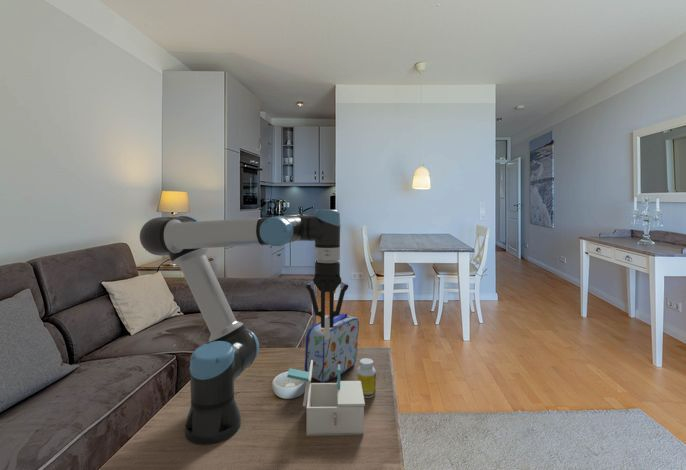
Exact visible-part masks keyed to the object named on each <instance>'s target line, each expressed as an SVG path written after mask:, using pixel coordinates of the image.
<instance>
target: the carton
mask: <svg viewBox="0 0 686 470" xmlns="http://www.w3.org/2000/svg"><path fill="white" fill-rule="evenodd" d="M364 417H365V406H338V398H337V382H324V383H323V382H311V383H310V387H309V392H308V396H307V401H306V436H307V437H308V436H310V437H311V436H363V435H364V434H365V433H364V430H365V429H364V428H365V425H364V423H365V422H364V420H365V419H364Z"/></svg>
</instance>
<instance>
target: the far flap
mask: <svg viewBox="0 0 686 470" xmlns="http://www.w3.org/2000/svg"><path fill="white" fill-rule="evenodd" d="M336 377H337V378H336V379H337V380H336V383H337V398H338V406H364V407H366V402H365V398H364V396H363V390H362V385H361V381H357V380H341V375H340V364H338V368H337V376H336Z"/></svg>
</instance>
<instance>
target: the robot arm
mask: <svg viewBox="0 0 686 470" xmlns="http://www.w3.org/2000/svg"><path fill="white" fill-rule="evenodd" d="M340 216H341V215H340V211H339V210H337V209H315V211H314V215H308V216H307V215H289V214H288V215H279V216H276V215H275V216H274V215H273V216H268V217H252V218H251V217H250V218H237V219H235V218H234V219H217V220H203V221H201V220H200V219H198V218H196V217H192V216H187V215H186V216H185V215H180V216H179V215H178V216H161V217H160V216H159V217H154V218H151V219H149V220H148V221H147V222H145V223H144V224H143V225H142V226H141V229H140V232H139V241H140V244H141V246H142V248H143V249H145V251H146V252H147V253H149V254H151V255H154V256H168V257H169V259H170V261H171V263H172V264H173V265H175V266H178V267H179V268H180V270H181V272H182V274H183V277H184V279H185V281H186V283H187V285H188V287H189V289H190V292H191V294H192V296H193V298H194V301H195V302H196V305H197V306H198V309H199V311H200V313H201V315H202V317H203V319H204V322H205V324H206V326H207V328H208V330H209V333H210V336H209V338H208V343H204V344H202V345H200V346H199V347H197V348H196V349H195V350H194V351H193V352H192V354H191V355H190V360H189V361H190V363H189V376H190V380H189V381H190V407H189V411H188V414H187V417H186V419H185V422H184V423H185V424H184V437H185V439H186V440H187V441H188V442H190V443H192V444H195V445H200V446H201V445H204V446H205V445H213V444H217V443H220V442H224V441H226V440H228V439H229V438H231V437H232V436H234V435H235V434H236V433H237V432H238V431H239V429H240V428H241V424H242V420H241V419H242V416H241V412H240V410H239V407H238V404H237V402H236V399H235V380H236V379H237V378H238V377H240V376H241V374H242V373H243V372H244V371H246V369H248V368H249V367H250V366H251V365H252V364H253V362H254V361H255V360H256V358H257V357H258V355H259V352H260V343H259V339H258V337H257V335H256V334H255V333H254V332H253V331H251V330H250V329H248V328H247V329H246V327H245V325H244V322H241V321H238V320H237V319H236V316H235V315H234V312H233V311H232V307H231V306H230V303H229V302H228V299H227V297H226V295H225V293H224V291H223V289H222V287H221V285H220V282H219V281H218V278H217V276H216V274H215V272H214V269H213V268H212V264H211V263H210V261H209V259H208V256H207V253H208V251H209V249H211V248H213V249H214V248H216V249H217V248H231V247H250V246H251V247H252V246H255V247H256V246H271V247H279V246H280V247H281V246H284V245H286V244H289V243H294V242H297V241H299V242H300V241H302V242H305V241H306V242H314V260H315V262H314V277H313V278H312V279H313V280H312V281H310V282H307V283H306V286H305V288H306V289H307V291H308V293H309V296H310V301H311V304H312V307H313V312H314V315H315V316H317V317H320V322H321V328H325V339H330V328H333V318H334V317H335V316H338V315H339V314H341V313H340V312H341V309H342V306H343V301H344V298H345V295H346V294H345V293H346V292H347V290H348V289H349V284H348V282H345V281H343V280H342V277H341V262H340V260H341V225H342V224H341V217H340ZM315 287H316V288H317V289H318V290H319V291H320V310H319V306H318V302H317V297H316V293H315V290H314V289H315ZM338 287H339V288H340V291H339V295H338V299H337V304H336V307H335V308H334V306H335V305H334V298H335V297H334V296H335V295H334V292H335V291H336V290H337V288H338ZM326 293H329V311H328V312H329V313H328V315H327V314H326ZM334 309H335V310H334Z"/></svg>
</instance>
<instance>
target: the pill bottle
mask: <svg viewBox="0 0 686 470" xmlns="http://www.w3.org/2000/svg"><path fill="white" fill-rule="evenodd" d="M376 370H377V369H375V367H374V360H373V359H371V358H367V357H365V358H361V359H359V366H358V367H357V369H356V381H361V385H362V390H363V396H364V399H370V398H373V397H375V395H376V390H377V389H376V386H377V385H376V383H377V382H376V381H377V378H376V377H377V371H376Z"/></svg>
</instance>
